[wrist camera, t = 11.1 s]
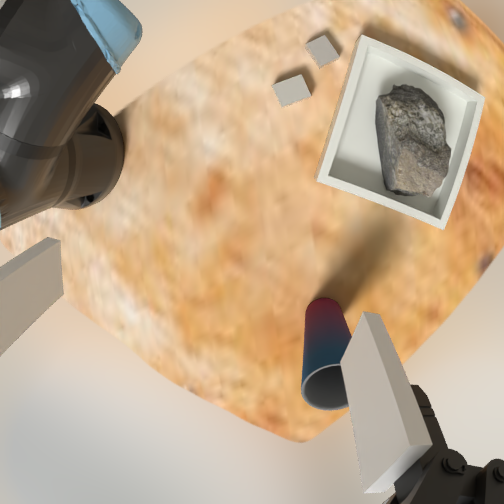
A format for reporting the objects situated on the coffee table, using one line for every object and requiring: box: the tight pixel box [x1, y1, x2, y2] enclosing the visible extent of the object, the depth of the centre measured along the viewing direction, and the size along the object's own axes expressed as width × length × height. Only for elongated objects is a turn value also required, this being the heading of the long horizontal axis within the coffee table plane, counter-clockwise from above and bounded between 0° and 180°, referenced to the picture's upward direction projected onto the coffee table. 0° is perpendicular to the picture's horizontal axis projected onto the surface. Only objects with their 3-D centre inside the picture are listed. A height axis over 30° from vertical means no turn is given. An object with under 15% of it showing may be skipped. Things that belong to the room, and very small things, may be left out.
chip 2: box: [305, 35, 340, 69], centre depth 32 cm, size 3×3×2 cm
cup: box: [301, 298, 352, 410], centre depth 37 cm, size 7×7×15 cm
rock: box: [375, 84, 451, 197], centre depth 31 cm, size 13×9×6 cm, turn 11°
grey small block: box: [272, 74, 311, 108], centre depth 34 cm, size 4×3×2 cm
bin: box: [314, 35, 485, 230], centre depth 33 cm, size 17×18×4 cm
